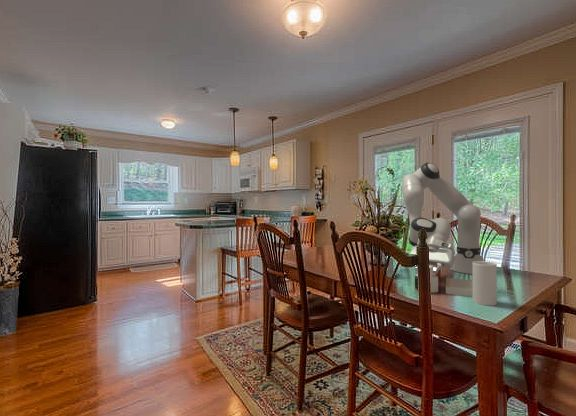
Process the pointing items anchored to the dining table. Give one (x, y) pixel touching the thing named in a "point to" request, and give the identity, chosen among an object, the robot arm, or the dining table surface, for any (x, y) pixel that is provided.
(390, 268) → the candy bar box
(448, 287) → the dock
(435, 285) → the medicine bottle
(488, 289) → the cup
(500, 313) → the dining table surface
